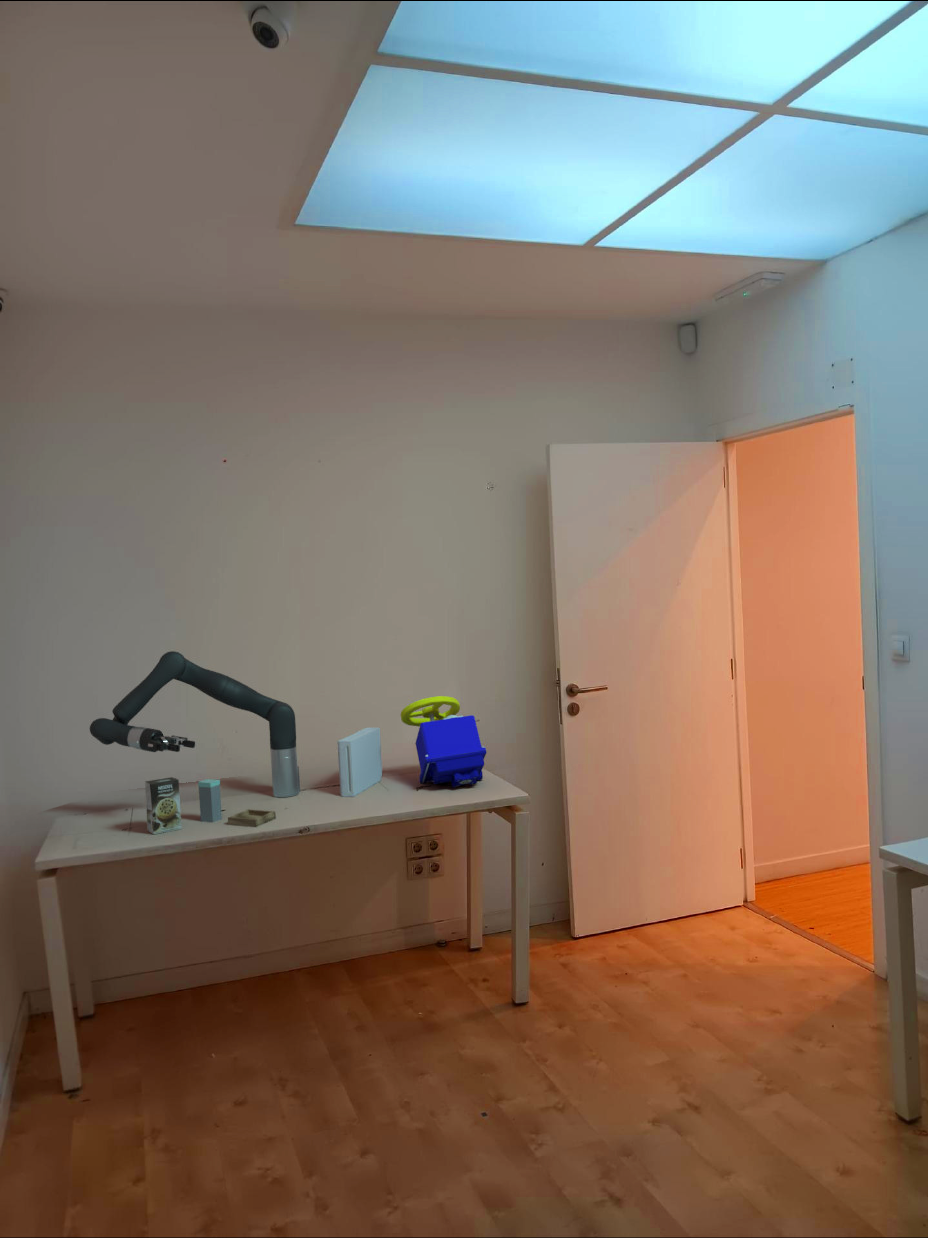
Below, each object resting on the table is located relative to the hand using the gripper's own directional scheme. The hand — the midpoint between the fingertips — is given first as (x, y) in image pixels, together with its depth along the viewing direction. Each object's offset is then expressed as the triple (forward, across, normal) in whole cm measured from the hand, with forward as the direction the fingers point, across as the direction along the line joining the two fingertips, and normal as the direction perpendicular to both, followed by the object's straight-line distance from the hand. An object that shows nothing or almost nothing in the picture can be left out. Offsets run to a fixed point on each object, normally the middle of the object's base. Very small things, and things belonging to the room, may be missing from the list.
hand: (186, 746), depth 310 cm
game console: (+43, +50, +16) cm, 67 cm away
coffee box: (+2, -12, +25) cm, 28 cm away
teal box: (+11, +1, +23) cm, 25 cm away
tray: (+26, +1, +21) cm, 33 cm away
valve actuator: (+72, +58, +11) cm, 93 cm away
